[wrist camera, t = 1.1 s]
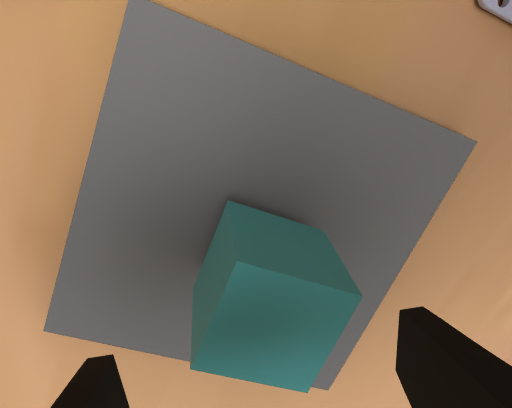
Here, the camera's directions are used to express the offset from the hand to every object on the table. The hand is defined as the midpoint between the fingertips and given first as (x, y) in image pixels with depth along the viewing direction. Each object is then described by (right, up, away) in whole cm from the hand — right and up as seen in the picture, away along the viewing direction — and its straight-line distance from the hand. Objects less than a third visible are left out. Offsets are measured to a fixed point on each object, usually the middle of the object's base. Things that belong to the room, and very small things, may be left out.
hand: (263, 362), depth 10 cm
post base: (0, +3, +10) cm, 11 cm away
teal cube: (0, +2, +7) cm, 8 cm away
